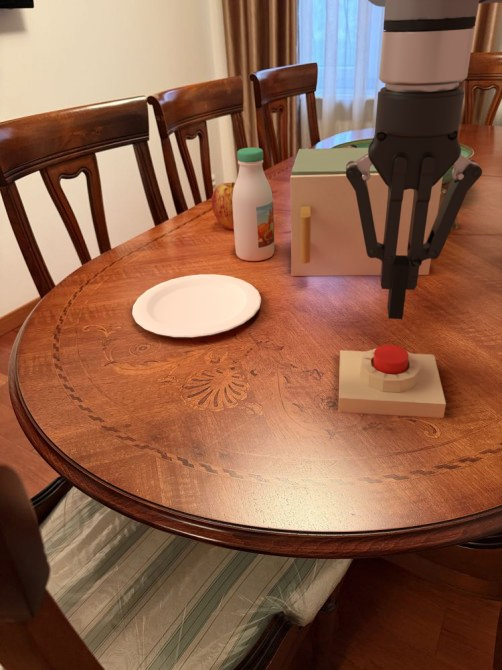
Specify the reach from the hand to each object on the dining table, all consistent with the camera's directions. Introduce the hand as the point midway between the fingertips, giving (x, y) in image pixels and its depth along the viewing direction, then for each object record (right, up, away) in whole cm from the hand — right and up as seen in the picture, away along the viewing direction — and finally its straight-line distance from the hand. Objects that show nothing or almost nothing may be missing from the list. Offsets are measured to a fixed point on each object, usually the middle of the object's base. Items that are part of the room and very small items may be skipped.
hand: (394, 312), depth 59 cm
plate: (-25, +1, +26) cm, 36 cm away
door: (+3, +7, +31) cm, 32 cm away
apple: (-20, +22, +57) cm, 65 cm away
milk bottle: (-16, +13, +44) cm, 48 cm away
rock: (+21, +19, +49) cm, 56 cm away
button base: (+1, -9, +6) cm, 11 cm away
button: (+1, -6, +4) cm, 8 cm away
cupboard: (+4, +13, +41) cm, 44 cm away
